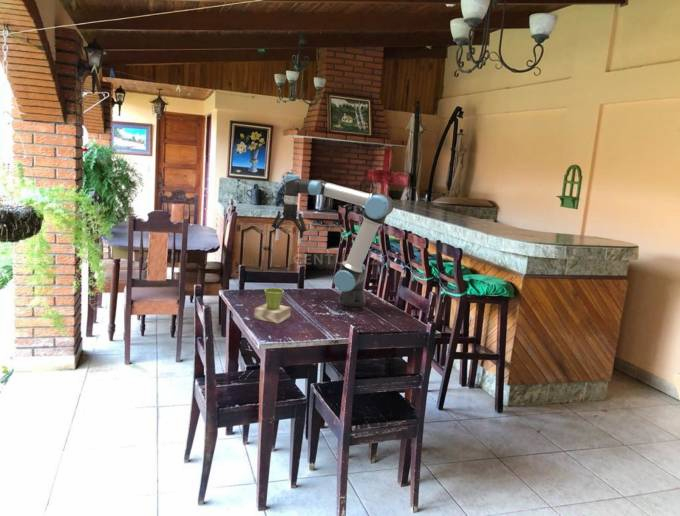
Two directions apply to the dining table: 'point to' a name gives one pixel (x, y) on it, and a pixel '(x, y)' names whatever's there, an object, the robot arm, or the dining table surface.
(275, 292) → the plant pot
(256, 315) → the ash block
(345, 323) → the dining table surface
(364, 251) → the robot arm
